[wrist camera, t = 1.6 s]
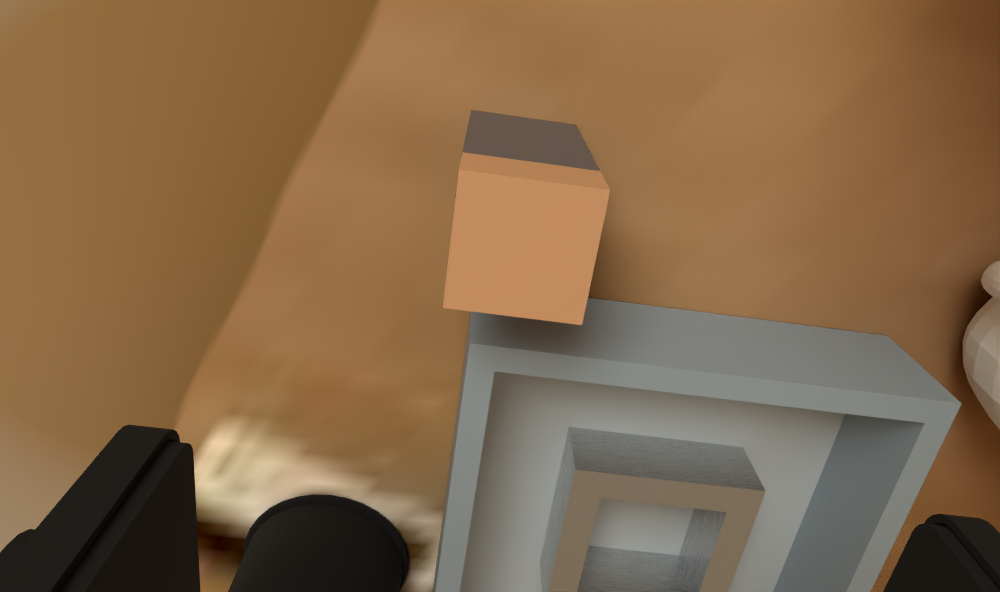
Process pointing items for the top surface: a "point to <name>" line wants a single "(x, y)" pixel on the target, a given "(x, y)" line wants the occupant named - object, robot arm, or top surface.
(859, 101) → the top surface
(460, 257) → the block
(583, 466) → the inlet
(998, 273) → the cat figurine
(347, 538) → the aerosol can
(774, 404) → the walled box
